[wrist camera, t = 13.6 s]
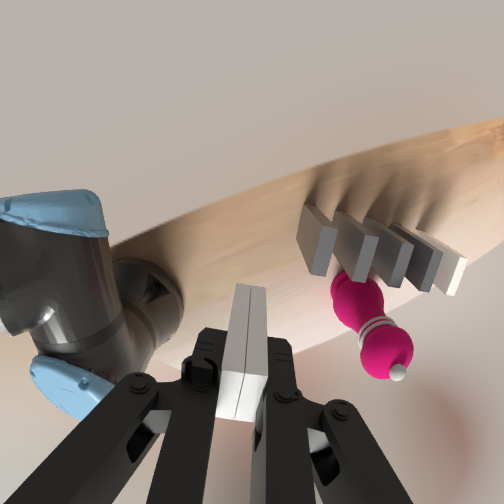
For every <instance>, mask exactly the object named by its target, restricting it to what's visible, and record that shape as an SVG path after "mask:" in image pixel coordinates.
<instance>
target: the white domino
mask: <svg viewBox="0 0 504 504" xmlns="http://www.w3.org/2000/svg"><path fill="white" fill-rule="evenodd" d="M414 234H415V235H417V236H419V237H420V238H422V239H423V240H425V241H427V242H428V243H430V244H431V245H433V246H434V247H436V248H437V249H439V250H440V251H442V252H443V256H442V259H441V262H440V265H439V267H438V270H437V273H436V276H435V278H434V281H433V284H434V285H436V286H437V287H438V288H439V289H440V290H441V291H442V292H443V293H444V294H446V295H451V296H454V295H455V292H456V290H457V287H458V285H459V282H460V279H461V277H462V274H463V272H464V269H465V266H466V263H467V260H468V259H467V258H466V257H464V256H463V255H461V254H460V253H458V252H457V251H455V250H453V249H452V248H450V247H448V246H447V245H445V244H444V243H442V242H440V241H439V240H437V239H435V238H434V237H432V236H430V235H428V234H427V233H425V232H423V231H420V230H416V229H415V231H414Z"/></svg>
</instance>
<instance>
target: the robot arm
mask: <svg viewBox="0 0 504 504" xmlns="http://www.w3.org/2000/svg"><path fill="white" fill-rule="evenodd" d="M107 236H109V231H108V230H107V229H106V226H105V221H104V217H103V212H102V206H101V202H100V200H99V198H98V196H97V195H96V194H95V193H93V192H92V191H89V190H85V189H78V190H63V191H50V192H40V193H32V194H24V195H18V196H11V197H4V198H0V331H1V332H3V333H5V334H6V335H8V336H10V337H13V336H16V335H19V334H21V333H24V332H27V331H29V332H30V334H31V336H32V339H33V341H34V343H35V346H36V348H37V350H38V356H35V357H34V358H33V359H32V363H31V366H30V375H31V377H32V380H33V382H34V383H35V385H36V386H37V388H38V389H39V390H40V392H41V393H42V394H43V395H44V396H45V397H46V398H47V399H48V400H49V401H50V402H52V403H53V404H54V405H56V407H58V408H59V409H61V410H62V411H64V412H66V413H67V414H69V415H70V416H72V417H74V418H76V419H78V420H81V422H80V423H79V424H78V425H77V426H76V427H75V429H73V430H72V431H71V433H70V434H69V435H68V436H67V437H66V438H65V439H64V440H63V441H62V442H61V443H60V444H59V445H58V446H57V448H55V449H54V450H53V451H52V453H51V454H50V455H49V456H48V457H47V458H46V459H45V460H44V461H43V462H42V463H41V464H40V465H39V466H38V467H37V469H35V471H34V472H33V473H32V474H31V475H30V476H29V477H28V478H27V479H26V480H25V481H24V482H23V483H22V484H21V486H20V487H19V488H18V489H17V490H16V491H15V492H14V493H13V494H12V495H11V496H10V497H9V498H8V499H7V501H6V502H5V503H4V504H112V503H113V501H114V500H115V499H116V497H117V496H118V494H119V493H120V492H121V490H122V489H123V487H124V486H125V484H126V483H127V482H128V480H129V479H130V477H131V476H132V475H133V473H134V472H135V470H136V469H137V467H138V466H139V464H140V463H141V462H142V460H143V459H144V457H145V456H146V454H147V453H148V451H149V450H150V449H151V447H152V446H153V444H154V443H155V441H156V439H157V438H158V437H159V435H160V434H161V433H165V436H164V440H163V443H162V447H161V450H160V454H159V458H158V461H157V464H156V468H155V472H154V476H153V479H152V483H151V487H150V490H149V494H148V498H147V502H146V504H202V503H203V496H204V489H205V482H206V476H207V469H208V462H209V455H210V448H211V442H212V435H213V428H214V421H215V417H220V418H226V419H234V416H235V420H240V421H249V422H254V420H255V417H256V425H255V429H254V431H253V434H252V437H251V440H250V443H253V446H252V468H251V488H250V504H316V501H315V491H314V483H315V485H316V487H317V490H318V492H319V495H320V497H321V499H322V502H323V504H413V502H412V501H411V499H410V497H409V496H408V494H407V492H406V490H405V489H404V487H403V486H402V484H401V482H400V480H399V479H398V477H397V475H396V474H395V472H394V471H393V469H392V467H391V465H390V464H389V462H388V460H387V459H386V457H385V455H384V454H383V452H382V450H381V449H380V447H379V446H378V444H377V442H376V440H375V438H374V437H373V435H372V434H371V432H370V430H369V429H368V427H367V425H366V424H365V422H364V420H363V419H362V417H361V415H360V414H359V412H358V411H357V409H356V408H355V407H354V406H353V404H351V403H349V402H348V401H345V400H341V399H335V400H331V401H329V402H328V403H327V404H326V405H322V404H318V403H315V402H312V401H310V400H307V399H306V398H304V397H303V395H302V393H301V391H300V390H299V389H298V388H297V385H296V378H295V370H294V363H293V356H292V347H291V345H290V344H289V343H288V341H287V340H286V339H282V338H274V337H267V313H266V288H264V287H258V286H251V285H245V284H239V283H236V288H235V294H234V299H233V305H232V310H231V316H230V322H229V327H228V331H223V330H218V329H212V328H207V327H206V328H204V329H203V330H202V331H201V332H200V333H199V335H198V338H197V342H196V344H195V348H194V351H193V354H192V355H191V356H189V357H187V358H185V359H184V361H183V362H182V370H181V379H179V380H177V381H174V382H156V380H155V378H153V377H152V376H150V375H149V374H146V373H144V372H145V370H146V368H147V365H148V363H149V361H150V359H151V357H152V355H153V353H154V351H155V350H156V349H157V348H158V347H160V346H161V345H162V344H164V343H166V342H167V341H168V340H170V339H171V338H172V337H173V335H174V334H175V333H176V331H177V329H178V327H179V325H180V322H181V320H182V316H183V302H182V298H181V295H180V292H179V290H178V288H177V286H176V285H175V283H174V282H173V281H172V279H171V278H170V277H169V276H168V275H167V274H166V273H165V272H164V271H163V270H161V269H160V268H159V267H157V266H155V265H154V264H152V263H150V262H147V261H144V260H140V259H134V258H128V259H122V260H119V261H116V262H114V263H112V258H111V253H110V248H109V242H108V237H107ZM313 480H314V481H313Z"/></svg>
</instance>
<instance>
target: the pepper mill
mask: <svg viewBox="0 0 504 504" xmlns="http://www.w3.org/2000/svg"><path fill="white" fill-rule="evenodd" d="M331 296H332V299H333V308H334V311H335V314H336V315H337V317H338V319H339V320H340V321H341V322H342V323H343V324H344V325H346V326H348V327H350V328H352V329H353V330H355V331H356V332H357V334H358V336H357V342H358V345H359V347H360V349H361V353H360V358H361V363H362V365H363V367H364V369H365V370H366V372H367V373H368V374H370V375H371V376H372V377H375V378H378V379H389V378H391V379H392V380H394V381H400V380H402V379H403V378H404V377H405V375H406V368H407V367H408V365H409V364H410V362H411V360H412V356H413V350H414V348H413V343H412V340H411V338H410V336H409V334H407V332H406V331H405V330H403V329H401V328H399V327H398V326H397V325H396V324H395V322H394V321H393V320H392V319H391V318H389V317H386V315H385V313H384V310H383V309H384V298H383V294H382V291H381V289H380V288H379V286H378V284H377V283H376V282H375V281H373V280H372V279H370V278H368V277H367V279H366V282H365V283H362V282H356V281H351V279H350V278H349V276H348V275H347V273H346V272H345V271H344V272H342V273H340V274H339V275H338V276H337V277H336V278H335V279H334V281H333V283H332V285H331Z"/></svg>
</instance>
